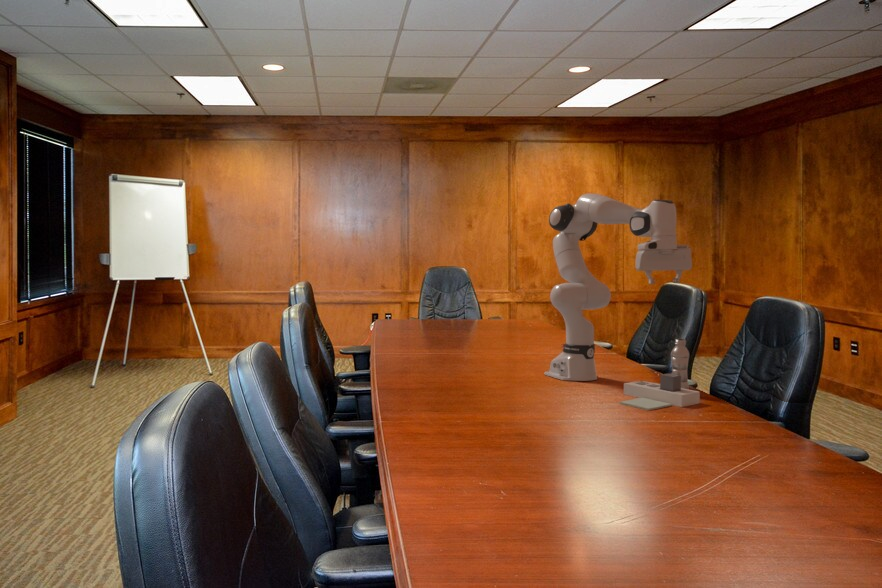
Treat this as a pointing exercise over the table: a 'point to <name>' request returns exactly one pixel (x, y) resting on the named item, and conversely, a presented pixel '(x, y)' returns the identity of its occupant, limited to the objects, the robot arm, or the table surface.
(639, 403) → the mat
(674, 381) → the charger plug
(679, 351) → the plastic bottle
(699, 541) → the table surface
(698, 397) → the grey holed block
